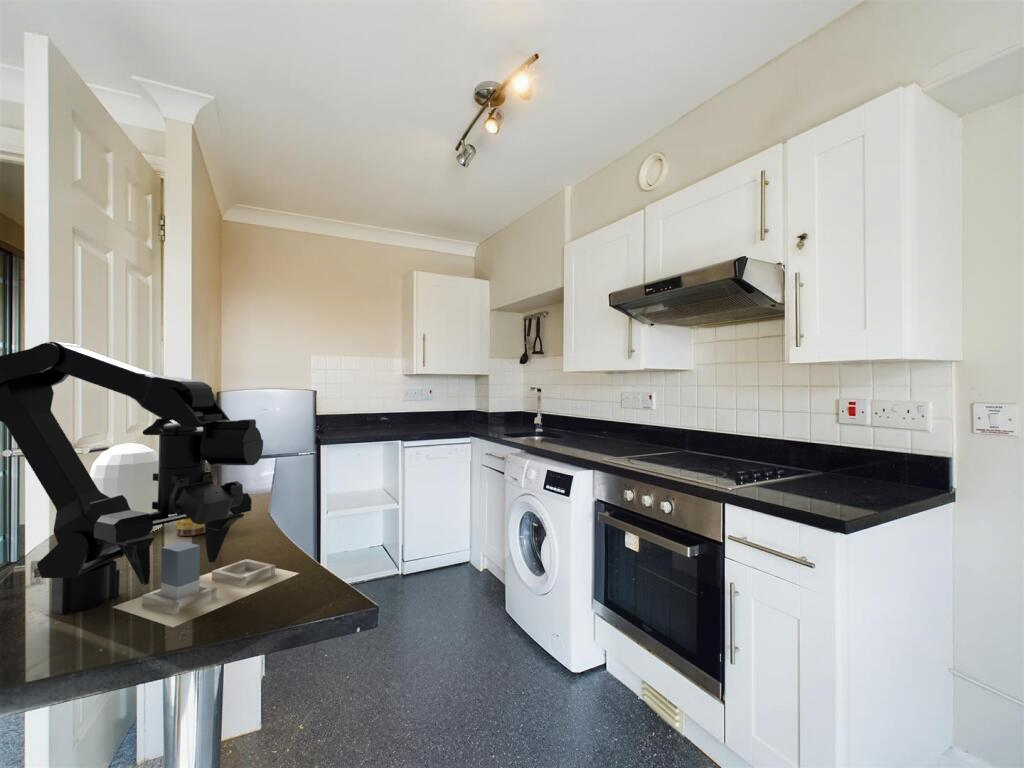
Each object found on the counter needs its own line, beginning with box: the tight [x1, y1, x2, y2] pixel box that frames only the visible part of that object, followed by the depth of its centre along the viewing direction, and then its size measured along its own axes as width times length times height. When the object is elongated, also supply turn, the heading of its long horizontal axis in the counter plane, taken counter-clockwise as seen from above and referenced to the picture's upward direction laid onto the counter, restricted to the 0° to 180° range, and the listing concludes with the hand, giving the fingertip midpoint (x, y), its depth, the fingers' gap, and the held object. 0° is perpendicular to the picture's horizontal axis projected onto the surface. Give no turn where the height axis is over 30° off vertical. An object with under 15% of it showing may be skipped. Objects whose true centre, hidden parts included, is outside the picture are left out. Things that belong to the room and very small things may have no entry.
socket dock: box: [112, 558, 300, 628], centre depth 72 cm, size 20×14×2 cm
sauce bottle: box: [175, 466, 210, 537], centre depth 104 cm, size 7×6×20 cm
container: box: [89, 442, 163, 532], centre depth 106 cm, size 14×13×20 cm
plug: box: [160, 541, 201, 601], centre depth 68 cm, size 3×4×8 cm
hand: (180, 572), depth 68 cm, fingers open, 9 cm apart
